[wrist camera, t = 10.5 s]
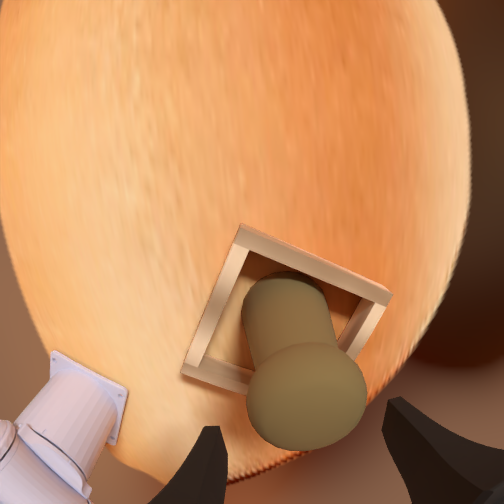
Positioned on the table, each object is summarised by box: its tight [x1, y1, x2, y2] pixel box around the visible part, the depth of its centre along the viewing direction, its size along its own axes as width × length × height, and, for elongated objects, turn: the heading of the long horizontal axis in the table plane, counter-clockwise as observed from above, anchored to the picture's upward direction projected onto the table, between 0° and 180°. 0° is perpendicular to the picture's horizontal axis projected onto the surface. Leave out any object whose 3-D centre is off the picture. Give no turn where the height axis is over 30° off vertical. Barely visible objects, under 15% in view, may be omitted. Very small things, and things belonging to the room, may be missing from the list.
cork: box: [241, 271, 367, 451], centre depth 15 cm, size 6×6×11 cm
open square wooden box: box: [180, 223, 393, 395], centre depth 20 cm, size 11×11×2 cm
